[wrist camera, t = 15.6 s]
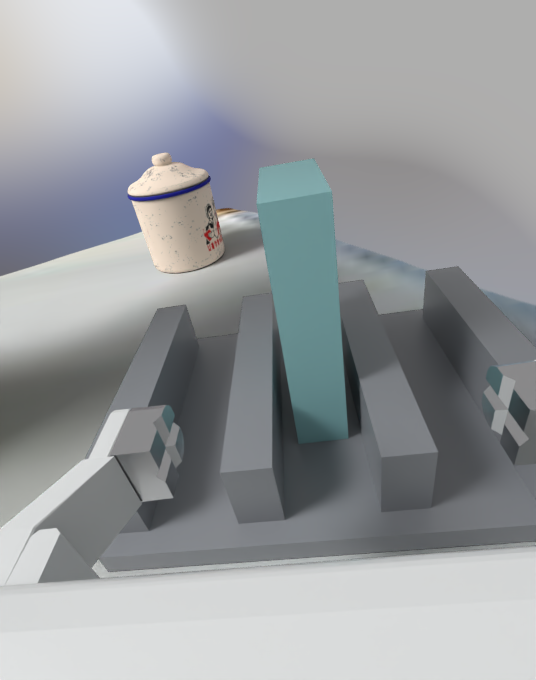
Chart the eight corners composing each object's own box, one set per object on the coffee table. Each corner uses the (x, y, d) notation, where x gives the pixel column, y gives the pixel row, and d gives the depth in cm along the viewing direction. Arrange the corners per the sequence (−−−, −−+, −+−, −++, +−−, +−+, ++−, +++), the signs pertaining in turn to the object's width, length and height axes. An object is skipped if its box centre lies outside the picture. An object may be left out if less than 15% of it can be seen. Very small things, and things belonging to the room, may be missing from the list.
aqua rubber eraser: (298, 444, 20) (256, 203, 13) (292, 369, 25) (259, 167, 18) (348, 438, 19) (331, 191, 13) (332, 364, 24) (313, 158, 18)
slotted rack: (108, 571, 17) (59, 510, 14) (180, 354, 30) (161, 301, 28) (596, 536, 15) (642, 458, 12) (445, 320, 28) (452, 260, 26)
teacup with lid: (230, 264, 43) (203, 151, 37) (149, 282, 43) (109, 171, 37) (223, 231, 53) (201, 138, 47) (158, 245, 53) (127, 153, 47)
